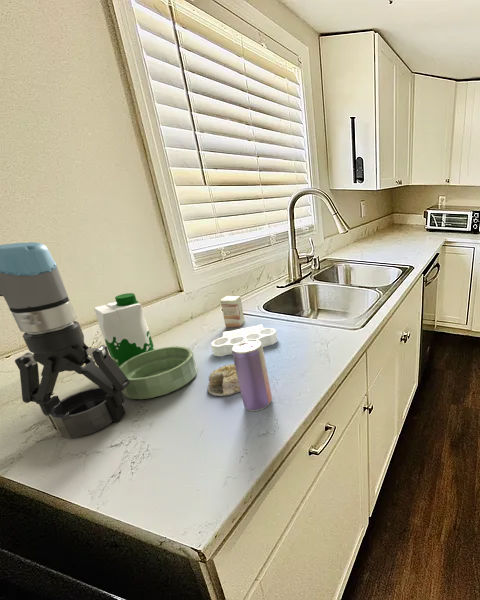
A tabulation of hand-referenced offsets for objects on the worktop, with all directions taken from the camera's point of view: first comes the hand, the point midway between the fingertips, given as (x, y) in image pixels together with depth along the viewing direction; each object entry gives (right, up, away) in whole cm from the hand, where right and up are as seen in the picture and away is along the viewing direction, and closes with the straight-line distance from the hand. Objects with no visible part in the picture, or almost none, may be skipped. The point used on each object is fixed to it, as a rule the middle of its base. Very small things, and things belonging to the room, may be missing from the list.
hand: (92, 421), depth 69 cm
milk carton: (-7, +7, +21) cm, 23 cm away
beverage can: (+33, +2, +5) cm, 34 cm away
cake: (+23, +4, +12) cm, 26 cm away
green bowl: (+5, +5, +14) cm, 15 cm away
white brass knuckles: (+18, +12, +32) cm, 38 cm away
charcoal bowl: (0, 0, 0) cm, 0 cm away
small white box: (+8, +17, +45) cm, 49 cm away
